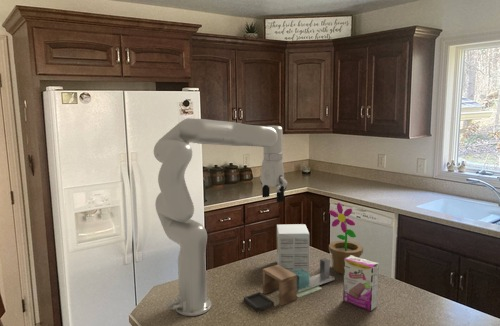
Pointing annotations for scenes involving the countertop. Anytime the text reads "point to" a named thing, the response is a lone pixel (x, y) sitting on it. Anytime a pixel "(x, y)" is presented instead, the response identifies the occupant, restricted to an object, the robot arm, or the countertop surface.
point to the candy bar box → (360, 282)
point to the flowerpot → (343, 248)
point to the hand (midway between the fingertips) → (272, 199)
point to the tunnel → (280, 283)
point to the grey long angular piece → (310, 282)
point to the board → (308, 291)
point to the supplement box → (293, 247)
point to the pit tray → (258, 301)
